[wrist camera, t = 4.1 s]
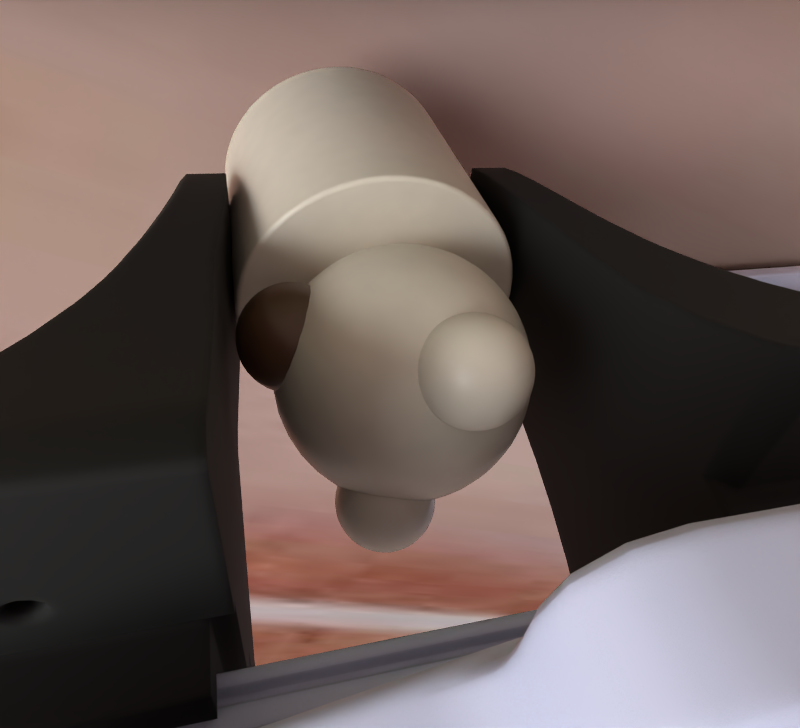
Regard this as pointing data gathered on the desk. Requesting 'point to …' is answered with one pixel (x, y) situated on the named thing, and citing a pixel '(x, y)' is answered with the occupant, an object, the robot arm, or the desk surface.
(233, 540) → the robot arm
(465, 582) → the desk surface
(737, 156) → the desk surface
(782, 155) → the desk surface
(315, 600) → the desk surface
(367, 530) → the toy bear
